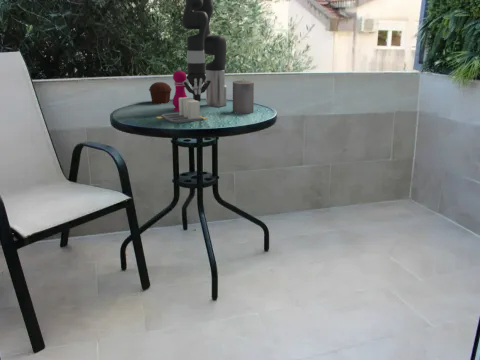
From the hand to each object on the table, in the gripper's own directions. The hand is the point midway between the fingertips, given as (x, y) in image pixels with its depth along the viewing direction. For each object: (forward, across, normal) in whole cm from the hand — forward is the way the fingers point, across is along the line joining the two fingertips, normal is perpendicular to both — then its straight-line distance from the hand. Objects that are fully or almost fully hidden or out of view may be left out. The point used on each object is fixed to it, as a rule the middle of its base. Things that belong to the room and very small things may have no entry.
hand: (196, 102), depth 199 cm
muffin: (+6, +1, -44) cm, 44 cm away
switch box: (+6, +9, +5) cm, 12 cm away
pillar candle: (+6, -24, -2) cm, 25 cm away
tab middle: (+5, +6, +5) cm, 9 cm away
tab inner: (+5, +6, 0) cm, 8 cm away
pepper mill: (+6, +2, -14) cm, 15 cm away
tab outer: (+5, +6, +9) cm, 12 cm away
